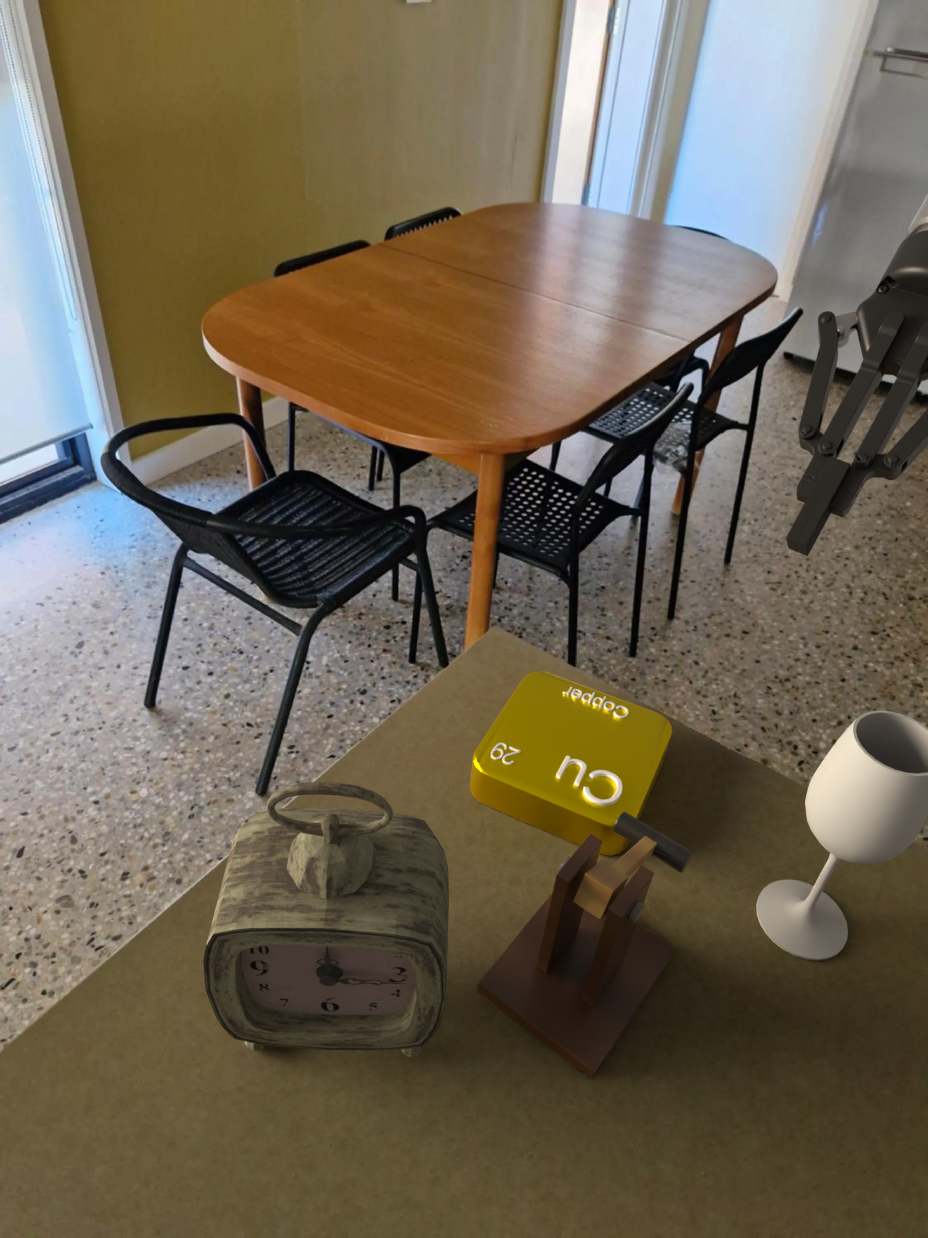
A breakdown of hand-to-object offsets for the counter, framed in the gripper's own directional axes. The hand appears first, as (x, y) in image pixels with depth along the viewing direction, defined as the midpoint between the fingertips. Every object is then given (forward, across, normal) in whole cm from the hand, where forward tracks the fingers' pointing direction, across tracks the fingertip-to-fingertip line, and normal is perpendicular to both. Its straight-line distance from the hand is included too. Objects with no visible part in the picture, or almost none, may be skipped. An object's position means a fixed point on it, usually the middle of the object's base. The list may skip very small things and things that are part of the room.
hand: (797, 546), depth 63 cm
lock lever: (+27, 0, -1) cm, 27 cm away
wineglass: (+24, -12, -16) cm, 31 cm away
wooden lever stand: (+35, 0, -4) cm, 36 cm away
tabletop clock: (+45, +12, +5) cm, 47 cm away
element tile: (+24, +11, -16) cm, 31 cm away
